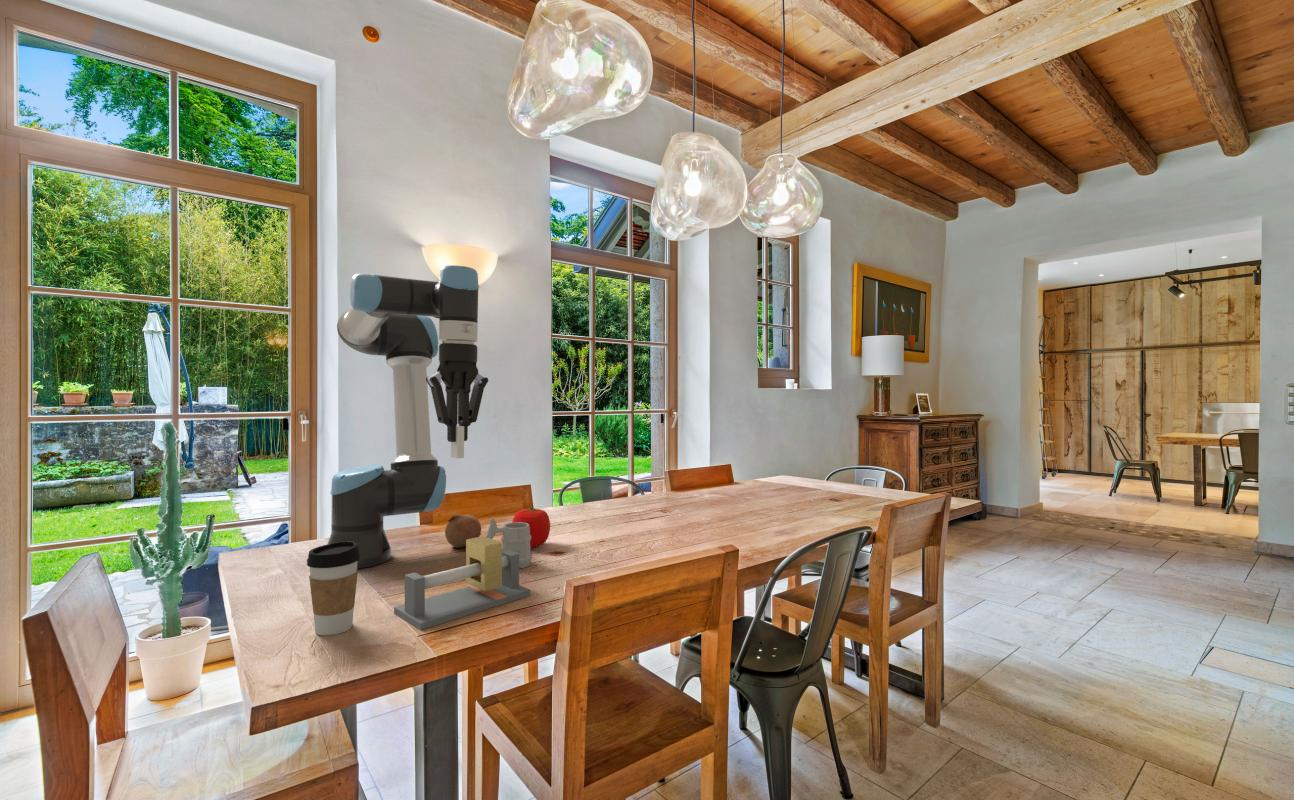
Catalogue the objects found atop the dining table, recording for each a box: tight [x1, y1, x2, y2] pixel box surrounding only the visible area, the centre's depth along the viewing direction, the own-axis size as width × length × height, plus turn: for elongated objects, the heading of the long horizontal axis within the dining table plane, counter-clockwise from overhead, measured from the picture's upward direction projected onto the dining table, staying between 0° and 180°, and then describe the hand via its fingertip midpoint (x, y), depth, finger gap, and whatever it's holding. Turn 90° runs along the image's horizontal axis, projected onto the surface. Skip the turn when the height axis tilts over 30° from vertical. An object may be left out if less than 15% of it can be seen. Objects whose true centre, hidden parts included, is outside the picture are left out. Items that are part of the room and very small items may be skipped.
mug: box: [485, 518, 533, 569], centre depth 140 cm, size 8×12×12 cm, turn 114°
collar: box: [465, 535, 503, 591], centre depth 118 cm, size 7×4×9 cm, turn 47°
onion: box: [444, 514, 482, 549], centre depth 156 cm, size 10×9×10 cm
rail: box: [393, 550, 532, 631], centre depth 115 cm, size 11×24×8 cm, turn 137°
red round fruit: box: [511, 507, 551, 549], centre depth 157 cm, size 10×11×11 cm
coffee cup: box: [306, 541, 360, 637], centre depth 103 cm, size 8×8×15 cm
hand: (457, 457), depth 118 cm, fingers closed
